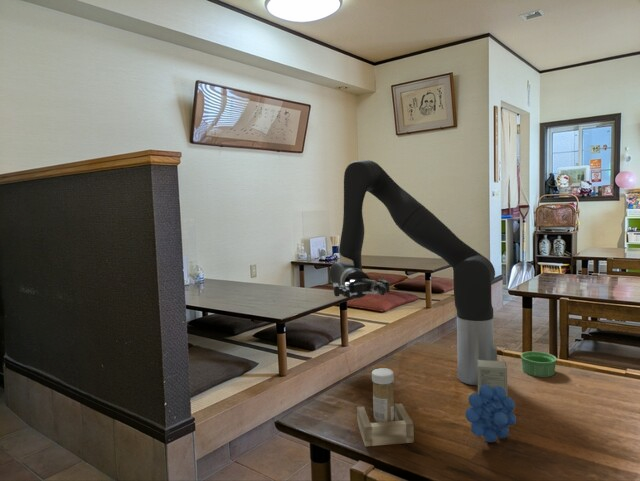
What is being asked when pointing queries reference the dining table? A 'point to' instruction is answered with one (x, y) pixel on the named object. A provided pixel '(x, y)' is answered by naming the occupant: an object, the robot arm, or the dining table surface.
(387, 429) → the pocket
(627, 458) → the dining table surface
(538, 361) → the ramekin
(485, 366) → the skincare box
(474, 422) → the blue bumpy cluster
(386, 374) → the spice jar
